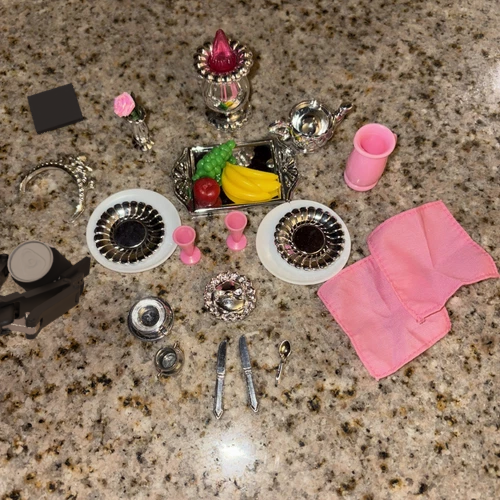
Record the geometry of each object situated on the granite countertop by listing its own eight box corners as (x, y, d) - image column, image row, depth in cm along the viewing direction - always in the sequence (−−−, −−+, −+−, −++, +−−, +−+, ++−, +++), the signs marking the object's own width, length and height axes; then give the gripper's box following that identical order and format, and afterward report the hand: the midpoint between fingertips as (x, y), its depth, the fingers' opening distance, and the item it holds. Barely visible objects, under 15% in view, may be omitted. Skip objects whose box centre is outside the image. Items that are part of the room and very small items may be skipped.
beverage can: (55, 318, 72) (19, 295, 61) (34, 284, 74) (-6, 256, 63) (94, 291, 74) (65, 264, 62) (72, 259, 76) (40, 227, 64)
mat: (28, 99, 108) (26, 96, 107) (73, 85, 109) (71, 82, 108) (38, 134, 105) (36, 132, 104) (83, 120, 106) (82, 117, 105)
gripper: (-138, 342, 53) (5, 261, 74) (21, 400, 51) (123, 299, 72) (-147, 283, 50) (6, 215, 71) (22, 342, 48) (129, 254, 69)
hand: (65, 257), depth 71 cm, fingers closed on beverage can, 6 cm apart
